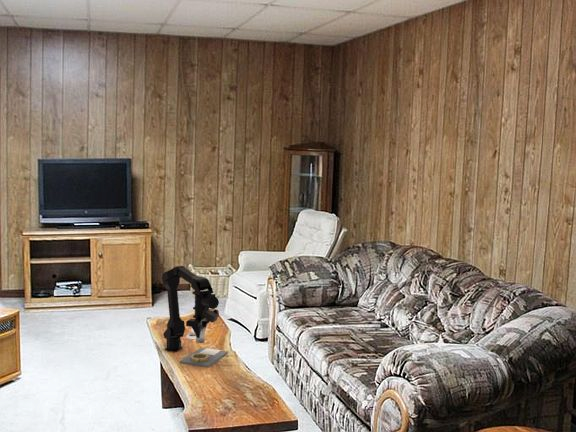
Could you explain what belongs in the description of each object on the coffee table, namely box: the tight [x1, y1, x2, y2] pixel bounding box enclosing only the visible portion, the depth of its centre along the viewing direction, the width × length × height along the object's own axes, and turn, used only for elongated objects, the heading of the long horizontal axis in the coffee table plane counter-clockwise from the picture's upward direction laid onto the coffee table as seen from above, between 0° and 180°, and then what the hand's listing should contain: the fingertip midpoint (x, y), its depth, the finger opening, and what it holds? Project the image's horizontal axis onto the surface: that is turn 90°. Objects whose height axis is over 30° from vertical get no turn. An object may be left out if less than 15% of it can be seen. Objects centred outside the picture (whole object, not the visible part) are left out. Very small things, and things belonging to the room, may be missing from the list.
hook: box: [185, 327, 196, 340], centre depth 362 cm, size 8×12×7 cm
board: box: [179, 347, 229, 368], centre depth 330 cm, size 15×22×1 cm
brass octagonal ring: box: [190, 353, 209, 362], centre depth 325 cm, size 8×8×2 cm
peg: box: [195, 327, 206, 344], centre depth 324 cm, size 4×4×7 cm
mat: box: [200, 348, 222, 356], centre depth 336 cm, size 8×8×1 cm
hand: (200, 336), depth 325 cm, fingers closed on peg, 4 cm apart
